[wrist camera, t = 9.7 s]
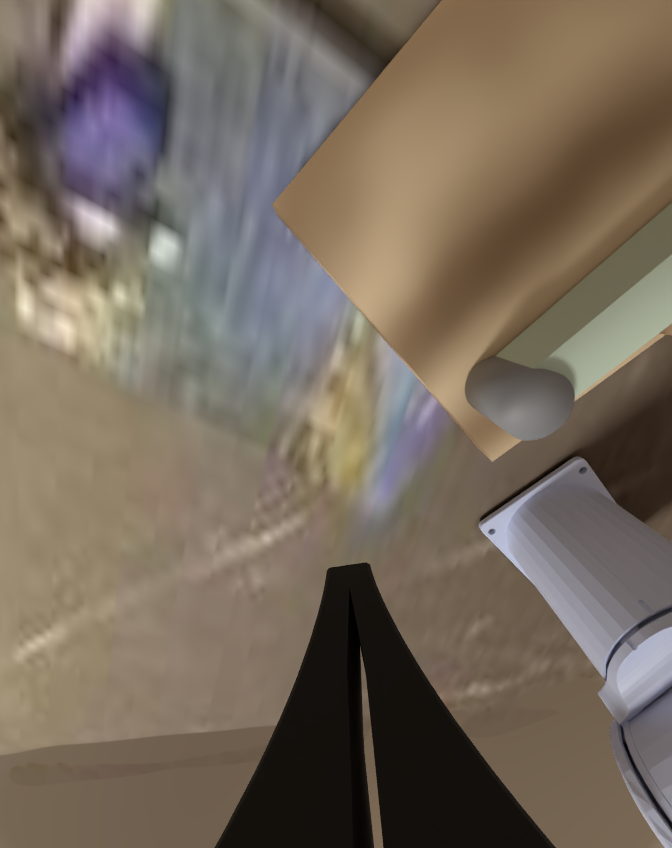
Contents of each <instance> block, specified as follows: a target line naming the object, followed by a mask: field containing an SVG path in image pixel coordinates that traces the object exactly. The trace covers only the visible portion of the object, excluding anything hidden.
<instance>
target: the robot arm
mask: <svg viewBox="0 0 672 848" xmlns="http://www.w3.org/2000/svg"><path fill="white" fill-rule="evenodd" d="M581 468H582V469H581ZM580 469H581V470H580ZM479 528H480V529H481V531H482V532H483V533H484V534H485V535H486V536H487V537H488V538H489V539H490V540H491V541H492V542H493V543H494V544H495V545H496V546H497V547H498V548H499V549H500V550H501V551H502V552H503V553H504V554H505V555H506V556H507V557H508V559H509V560H510V561H511V562H512V563H513V564H514V565H515V566H516V567H517V568H518V569H519V570H520V571H521V572H522V573H523V574H524V575H525V576H526V577H527V578H528V579H529V580H530V581H531V582H532V583H533V584H534V585H535V586H536V588H537V589H538V590H539V592H540V593H541V594H542V596H543V597H544V598H545V600H546V601H547V602H548V604H549V605H550V607H551V608H552V609H553V611H554V612H555V613H556V615H557V616H558V617H559V619H560V620H561V621H562V623H563V624H564V625H565V627H566V628H567V630H568V631H569V632H570V634H571V635H572V636H573V638H574V639H575V640H576V642H577V643H578V644H579V646H580V647H581V648H582V650H583V651H584V653H585V654H586V655H587V657H588V658H589V659H590V661H591V662H592V663H593V665H594V666H595V667H596V669H597V670H598V672H599V673H600V674H601V676H602V677H603V678H604V680H605V681H606V683H605V685H604V686H603V688H602V689H600V691H599V692H598V695H599V696H600V698H601V699H602V700H603V702H604V703H605V705H606V706H607V708H608V709H609V711H610V712H611V713H612V715H613V716H614V718H615V719H614V720H613V722H612V724H611V727H610V741H611V747H612V750H613V753H614V756H615V759H616V762H617V764H618V766H619V769H620V771H621V773H622V776H623V778H624V781H625V782H626V785H627V787H628V789H629V791H630V793H631V795H632V797H633V799H634V801H635V803H636V804H637V806H638V808H639V810H640V811H641V813H642V815H643V816H644V818H645V819H646V821H647V823H648V824H649V826H650V827H651V829H652V830H653V831H654V833H655V834H656V836H657V837H658V839H659V840H660V842H661V843H662V844H663V846H664V847H665V848H672V542H670V541H669V540H667V539H666V538H665V537H663V536H662V535H660V534H659V533H657V532H656V531H655V530H653V529H652V528H650V527H649V526H647V525H646V524H645V523H643V522H642V521H640V520H639V519H637V518H636V517H635V516H633V515H632V514H630V513H629V512H627V511H626V510H625V509H623V508H622V507H620V506H619V505H617V503H616V502H615V501H614V499H613V498H612V496H611V495H610V494H609V492H608V491H607V489H606V488H605V487H604V485H603V484H602V482H601V481H600V480H599V478H598V477H597V475H596V474H595V473H594V471H593V470H592V468H591V467H590V466H589V464H588V463H587V461H586V460H585V459H583V458H581V457H578V456H577V457H574V458H572V459H570V460H569V461H567V462H566V463H564V464H563V465H562V466H560V467H559V468H557V469H556V470H554V471H553V472H551V473H550V474H548V475H547V476H546V477H544V478H543V479H541V480H540V481H538V482H537V483H535V484H534V485H532V486H531V487H530V488H528V489H527V490H525V491H524V492H522V493H521V494H519V495H518V496H516V497H515V498H514V499H512V500H511V501H509V502H508V503H506V504H505V505H503V506H502V507H501V508H499V509H498V510H496V511H495V512H493V513H492V514H490V515H489V516H487V517H486V518H485V519H483V520H482V521H481V522H480V523H479ZM490 529H492V530H490ZM489 530H490V531H489ZM360 647H361V652H362V657H363V662H364V667H365V672H366V680H367V689H368V698H369V708H370V717H371V727H372V737H373V746H374V756H375V766H376V776H377V786H378V796H379V806H380V816H381V826H382V836H383V847H384V848H556V847H555V846H554V845H553V844H552V843H551V842H550V840H549V839H548V838H547V837H546V836H545V834H544V833H543V832H542V831H541V830H540V828H539V827H538V826H537V825H536V824H535V822H534V821H533V820H532V819H531V817H530V816H529V815H528V814H527V813H526V811H525V810H524V809H523V808H522V807H521V805H520V804H519V803H518V802H517V801H516V799H515V798H514V797H513V795H512V794H511V793H510V791H509V790H508V789H507V788H506V786H505V785H504V784H503V783H502V782H501V780H500V779H499V778H498V776H497V775H496V774H495V773H494V771H493V770H492V769H491V767H490V766H489V765H488V763H487V762H486V761H485V760H484V758H483V757H482V755H481V754H480V753H479V751H478V750H477V749H476V747H475V746H474V745H473V743H472V742H471V741H470V739H469V738H468V737H467V735H466V734H465V733H464V731H463V730H462V729H461V727H460V726H459V725H458V723H457V722H456V721H455V719H454V718H453V716H452V715H451V713H450V712H449V710H448V709H447V707H446V706H445V705H444V703H443V702H442V700H441V699H440V697H439V696H438V694H437V693H436V691H435V690H434V688H433V687H432V685H431V684H430V682H429V681H428V679H427V678H426V676H425V675H424V673H423V671H422V670H421V668H420V667H419V665H418V663H417V662H416V660H415V658H414V657H413V655H412V653H411V652H410V650H409V648H408V647H407V645H406V643H405V641H404V640H403V638H402V636H401V634H400V633H399V631H398V629H397V627H396V625H395V623H394V621H393V619H392V617H391V615H390V613H389V612H388V610H387V608H386V605H385V603H384V601H383V599H382V597H381V594H380V592H379V590H378V587H377V585H376V582H375V580H374V577H373V574H372V571H371V567H370V564H368V563H360V564H353V565H346V566H339V567H332V568H329V569H328V570H327V574H326V581H325V587H324V591H323V596H322V600H321V604H320V608H319V612H318V615H317V619H316V622H315V626H314V629H313V632H312V636H311V639H310V642H309V645H308V648H307V650H306V653H305V656H304V659H303V662H302V665H301V668H300V670H299V673H298V676H297V678H296V681H295V683H294V686H293V689H292V691H291V694H290V696H289V698H288V701H287V703H286V705H285V708H284V710H283V713H282V715H281V717H280V719H279V722H278V724H277V726H276V728H275V730H274V733H273V735H272V737H271V739H270V741H269V744H268V746H267V748H266V750H265V752H264V754H263V756H262V758H261V760H260V763H259V765H258V767H257V769H256V771H255V773H254V775H253V777H252V779H251V781H250V782H249V784H248V786H247V788H246V790H245V792H244V794H243V796H242V798H241V800H240V802H239V804H238V805H237V807H236V809H235V811H234V813H233V815H232V817H231V819H230V821H229V823H228V825H227V826H226V828H225V830H224V832H223V834H222V836H221V838H220V839H219V841H218V843H217V845H216V846H215V848H374V844H373V843H374V842H373V833H372V824H371V813H370V805H369V794H368V784H367V774H366V765H365V754H364V738H363V715H362V687H361V659H360Z"/></svg>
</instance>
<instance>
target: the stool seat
mask: <svg viewBox="0 0 672 848" xmlns="http://www.w3.org/2000/svg"><path fill="white" fill-rule="evenodd" d="M670 203H672V0H442V1H441V2H440V3H439V4H438V5H437V7H436V8H435V9H434V10H433V11H432V13H431V14H430V15H429V16H428V17H427V19H426V20H425V21H424V22H423V23H422V25H421V26H420V27H419V28H418V30H417V31H416V32H415V33H414V34H413V36H412V37H411V38H410V39H409V40H408V42H407V43H406V44H405V45H404V46H403V48H402V49H401V50H400V51H399V52H398V54H397V55H396V56H395V57H394V58H393V60H392V61H391V62H390V63H389V64H388V66H387V67H386V68H385V69H384V70H383V72H382V73H381V74H380V75H379V77H378V78H377V79H376V80H375V81H374V83H373V84H372V85H371V86H370V87H369V89H368V90H367V91H366V92H365V93H364V95H363V96H362V97H361V98H360V99H359V101H358V102H357V103H356V104H355V105H354V107H353V108H352V109H351V110H350V111H349V113H348V114H347V115H346V116H345V117H344V119H343V120H342V121H341V122H340V124H339V125H338V126H337V127H336V128H335V130H334V131H333V132H332V133H331V134H330V136H329V137H328V138H327V139H326V140H325V142H324V143H323V144H322V145H321V146H320V148H319V149H318V150H317V151H316V152H315V154H314V155H313V156H312V157H311V158H310V160H309V161H308V162H307V163H306V164H305V166H304V167H303V168H302V169H301V170H300V172H299V173H298V174H297V175H296V177H295V178H294V179H293V180H292V181H291V183H290V184H289V185H288V186H287V187H286V189H285V190H284V191H283V192H282V193H281V195H280V196H279V197H278V198H277V199H276V201H275V202H274V203H273V204H272V206H273V208H274V209H275V211H276V213H277V215H278V217H279V218H280V219H281V220H282V221H283V223H284V224H285V225H286V226H287V227H288V228H289V229H290V231H291V232H292V233H293V234H294V235H295V236H296V238H297V239H298V240H299V241H300V242H301V243H302V245H303V246H304V247H305V248H306V249H307V250H308V252H309V253H310V254H311V255H312V256H313V257H314V258H315V260H316V261H317V262H318V263H319V264H320V265H321V267H322V268H323V269H324V270H325V271H326V272H327V274H328V275H329V276H330V277H331V278H332V279H333V281H334V282H335V283H336V284H337V285H338V286H339V287H340V289H341V290H342V291H343V292H344V293H345V294H346V296H347V297H348V298H349V299H350V300H351V301H352V303H353V304H354V305H355V306H356V307H357V308H358V310H359V311H360V312H361V313H362V314H363V315H364V316H365V318H366V319H367V320H368V321H369V322H370V323H371V325H372V326H373V327H374V328H375V329H376V330H377V332H378V333H379V334H380V335H381V336H382V337H383V338H384V340H385V341H386V342H387V343H388V344H389V345H390V347H391V348H392V349H393V350H394V351H395V352H396V354H397V355H398V356H399V357H400V358H401V359H402V361H403V362H404V363H405V364H406V365H407V366H408V367H409V369H410V370H411V371H412V372H413V373H414V374H415V376H416V377H417V378H418V379H419V380H420V381H421V383H422V384H423V385H424V386H425V387H426V388H427V390H428V391H429V392H430V393H431V394H432V395H433V396H434V398H435V399H436V400H437V401H438V402H439V403H440V405H441V406H442V407H443V408H444V409H445V410H446V412H447V413H448V414H449V415H450V416H451V417H452V419H453V420H454V421H455V422H456V423H457V424H458V425H459V427H460V428H461V429H462V430H463V431H464V432H465V434H466V435H467V436H468V437H469V438H470V439H471V441H472V442H473V443H474V444H475V445H476V446H477V447H478V448H479V449H480V450H481V451H482V452H483V453H484V454H485V455H486V456H487V457H488V458H489V459H490V460H491V461H492V462H493V461H494V460H495V459H497V458H498V457H500V456H501V455H502V454H504V453H505V452H506V451H508V450H509V449H510V448H512V447H513V446H515V445H516V444H517V443H519V442H520V441H521V440H520V439H517V438H515V437H513V436H511V435H510V434H509V433H507V432H506V431H504V430H503V429H502V428H500V427H499V426H498V425H496V424H495V423H494V422H492V421H491V420H489V419H488V418H487V417H485V416H484V415H483V414H481V413H480V412H478V411H477V410H476V409H474V408H473V407H472V406H471V405H470V404H469V403H468V401H467V399H466V396H465V384H466V380H467V377H468V375H469V374H470V372H471V371H472V369H473V368H474V367H475V366H476V365H477V364H479V363H480V362H481V361H483V360H485V359H487V358H489V357H493V356H496V355H497V354H498V353H499V352H500V351H502V350H503V349H504V348H505V347H506V346H507V345H508V344H510V343H511V342H512V341H513V340H514V339H515V338H516V337H518V336H519V335H520V334H521V333H522V332H523V331H524V330H526V329H527V328H528V327H529V326H530V325H531V324H533V323H534V322H535V321H536V320H537V319H538V318H539V317H541V316H542V315H543V314H544V313H545V312H546V311H547V310H549V309H550V308H551V307H552V306H553V305H554V304H556V303H557V302H558V301H559V300H560V299H561V298H562V297H564V296H565V295H566V294H567V293H568V292H569V291H570V290H572V289H573V288H574V287H575V286H576V285H577V284H579V283H580V282H581V281H582V280H583V279H584V278H585V277H587V276H588V275H589V274H590V273H591V272H592V271H593V270H595V269H596V268H597V267H598V266H599V265H600V264H601V263H603V262H604V261H605V260H606V259H607V258H608V257H610V256H611V255H612V254H613V253H614V252H615V251H616V250H618V249H619V248H620V247H621V246H622V245H623V244H624V243H626V242H627V241H628V240H629V239H630V238H631V237H633V236H634V235H635V234H636V233H637V232H638V231H639V230H641V229H642V228H643V227H644V226H645V225H646V224H647V223H649V222H650V221H651V220H652V219H653V218H654V217H656V216H657V215H658V214H659V213H660V212H661V211H662V210H664V209H665V208H666V207H667V206H668V205H669V204H670ZM664 335H672V324H670V325H669V326H668V327H667V328H665V329H664V330H663V331H661V332H660V333H659V334H657V335H656V336H655V337H654V338H652V339H651V340H650V341H648V342H647V343H646V344H645V345H643V346H642V347H641V348H639V349H638V350H637V351H635V352H634V353H633V354H632V355H630V356H629V357H628V358H626V359H625V360H624V361H622V362H621V363H620V364H619V365H617V366H616V367H615V368H613V369H612V370H611V371H610V372H608V373H607V374H606V375H604V376H603V377H602V378H600V379H599V380H598V381H597V382H595V383H594V384H593V385H591V386H590V387H589V388H587V389H586V390H585V391H584V392H582V393H581V394H580V395H578V396H577V397H576V398H575V400H574V401H576V400H577V399H579V398H580V397H581V396H583V395H584V394H585V393H587V392H588V391H589V390H591V389H592V388H594V387H595V386H596V385H598V384H599V383H600V382H602V381H603V380H604V379H606V378H607V377H608V376H610V375H611V374H613V373H614V372H615V371H617V370H618V369H619V368H621V367H622V366H623V365H625V364H626V363H628V362H629V361H630V360H632V359H633V358H634V357H636V356H637V355H638V354H640V353H641V352H643V351H644V350H645V349H647V348H648V347H649V346H651V345H652V344H653V343H655V342H656V341H657V340H659V339H660V338H662V337H663V336H664Z"/></svg>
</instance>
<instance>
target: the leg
mask: <svg viewBox="0 0 672 848" xmlns="http://www.w3.org/2000/svg"><path fill="white" fill-rule="evenodd" d="M670 324H672V203H670V204H669V205H668V206H667V207H666V208H665V209H664V210H662V211H661V212H660V213H659V214H658V215H657V216H656V217H654V218H653V219H652V220H651V221H650V222H649V223H647V224H646V225H645V226H644V227H643V228H642V229H641V230H639V231H638V232H637V233H636V234H635V235H634V236H633V237H631V238H630V239H629V240H628V241H627V242H626V243H624V244H623V245H622V246H621V247H620V248H619V249H618V250H616V251H615V252H614V253H613V254H612V255H611V256H610V257H608V258H607V259H606V260H605V261H604V262H603V263H601V264H600V265H599V266H598V267H597V268H596V269H595V270H593V271H592V272H591V273H590V274H589V275H588V276H587V277H585V278H584V279H583V280H582V281H581V282H580V283H579V284H577V285H576V286H575V287H574V288H573V289H572V290H570V291H569V292H568V293H567V294H566V295H565V296H564V297H562V298H561V299H560V300H559V301H558V302H557V303H556V304H554V305H553V306H552V307H551V308H550V309H549V310H547V311H546V312H545V313H544V314H543V315H542V316H541V317H539V318H538V319H537V320H536V321H535V322H534V323H533V324H531V325H530V326H529V327H528V328H527V329H526V330H524V331H523V332H522V333H521V334H520V335H519V336H518V337H516V338H515V339H514V340H513V341H512V342H511V343H510V344H508V345H507V346H506V347H505V348H504V349H503V350H502V351H500V352H499V353H498V354H497V355H496V356H493V357H489V358H487V359H485V360H483V361H481V362H480V363H479V364H477V365H476V366H475V367H474V368H473V369H472V371H471V372H470V374H469V375H468V377H467V380H466V384H465V396H466V399H467V401H468V403H469V404H470V405H471V406H472V407H473V408H474V409H476V410H477V411H478V412H480V413H481V414H483V415H484V416H485V417H487V418H488V419H489V420H491V421H492V422H494V423H495V424H496V425H498V426H499V427H500V428H502V429H503V430H504V431H506V432H507V433H509V434H510V435H511V436H513V437H515V438H517V439H520V440H537V439H541V438H544V437H546V436H548V435H550V434H552V433H553V432H555V431H556V430H557V429H558V428H560V427H561V426H562V425H563V424H564V422H565V421H566V420H567V418H568V417H569V415H570V413H571V411H572V409H573V406H574V400H575V398H576V397H577V396H578V395H580V394H581V393H582V392H584V391H585V390H586V389H587V388H589V387H590V386H591V385H593V384H594V383H595V382H597V381H598V380H599V379H600V378H602V377H603V376H604V375H606V374H607V373H608V372H610V371H611V370H612V369H613V368H615V367H616V366H617V365H619V364H620V363H621V362H622V361H624V360H625V359H626V358H628V357H629V356H630V355H632V354H633V353H634V352H635V351H637V350H638V349H639V348H641V347H642V346H643V345H645V344H646V343H647V342H648V341H650V340H651V339H652V338H654V337H655V336H656V335H657V334H659V333H660V332H661V331H663V330H664V329H665V328H667V327H668V326H669V325H670Z"/></svg>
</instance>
